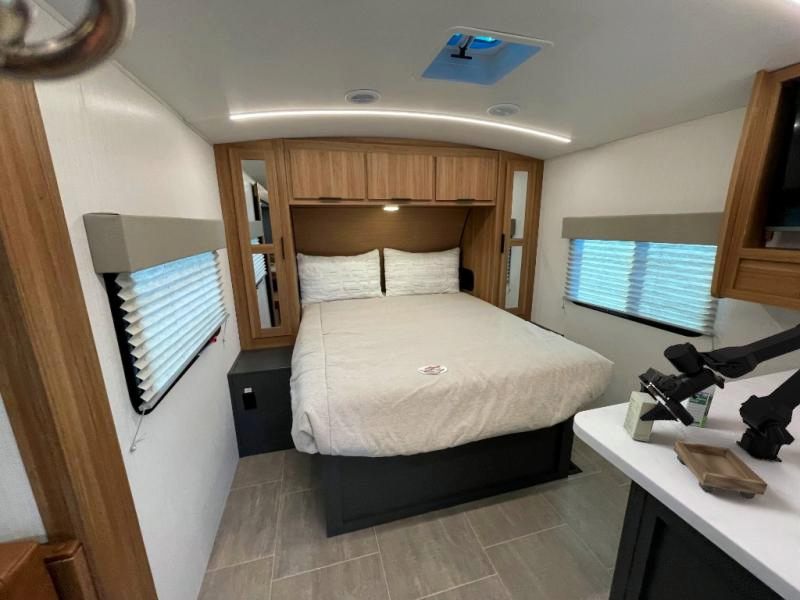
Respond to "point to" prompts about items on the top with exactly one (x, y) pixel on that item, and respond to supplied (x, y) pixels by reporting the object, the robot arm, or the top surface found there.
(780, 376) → the top surface
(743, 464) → the shallow wooden tray
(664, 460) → the top surface
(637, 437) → the skincare box
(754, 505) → the top surface
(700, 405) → the syrup box
